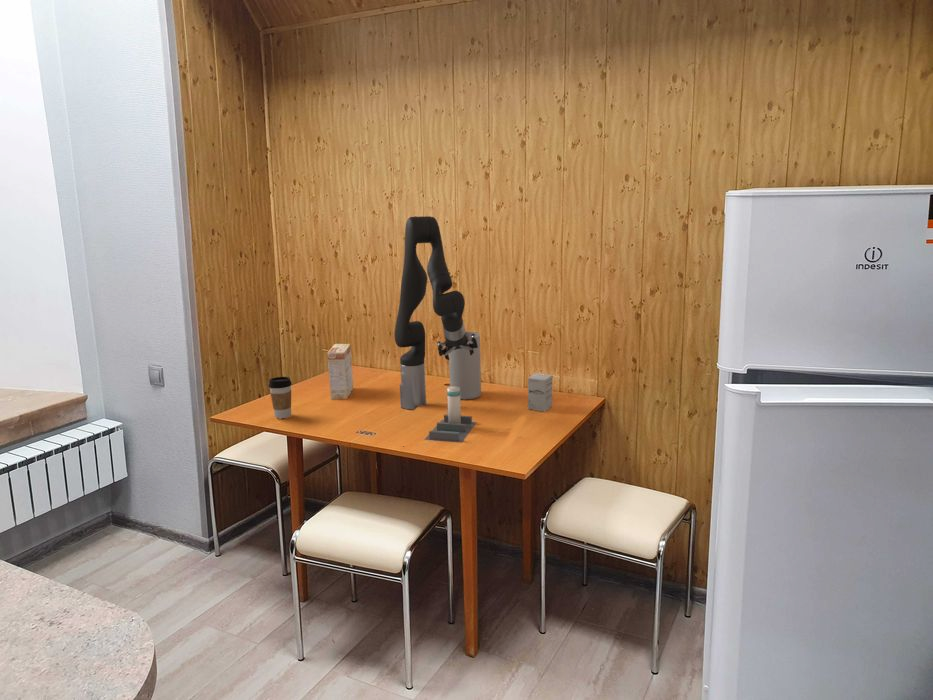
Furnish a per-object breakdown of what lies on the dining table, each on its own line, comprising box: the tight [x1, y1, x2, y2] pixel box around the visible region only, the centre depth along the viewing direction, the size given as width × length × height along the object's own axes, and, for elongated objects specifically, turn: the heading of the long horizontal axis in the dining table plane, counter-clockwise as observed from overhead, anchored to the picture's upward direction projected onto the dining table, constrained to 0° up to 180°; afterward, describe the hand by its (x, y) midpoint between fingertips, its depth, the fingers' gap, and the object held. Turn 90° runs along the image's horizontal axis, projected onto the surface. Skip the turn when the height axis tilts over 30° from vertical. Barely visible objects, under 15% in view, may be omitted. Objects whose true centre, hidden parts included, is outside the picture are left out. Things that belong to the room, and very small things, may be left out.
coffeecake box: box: [326, 343, 354, 400], centre depth 298 cm, size 15×7×20 cm, turn 178°
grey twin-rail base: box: [423, 413, 478, 443], centre depth 250 cm, size 13×20×4 cm, turn 165°
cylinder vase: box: [448, 331, 482, 401], centre depth 290 cm, size 12×12×25 cm
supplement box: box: [527, 372, 553, 412], centre depth 274 cm, size 7×7×13 cm
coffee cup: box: [268, 376, 292, 419], centre depth 272 cm, size 8×8×15 cm
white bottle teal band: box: [446, 386, 462, 424], centre depth 252 cm, size 5×5×14 cm
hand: (459, 355), depth 267 cm, fingers open, 8 cm apart
